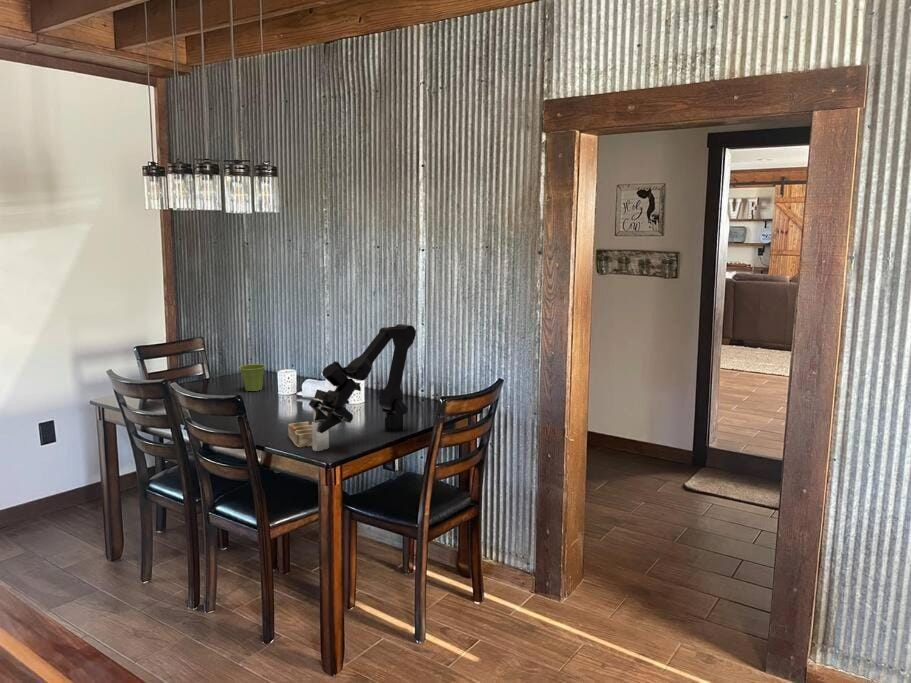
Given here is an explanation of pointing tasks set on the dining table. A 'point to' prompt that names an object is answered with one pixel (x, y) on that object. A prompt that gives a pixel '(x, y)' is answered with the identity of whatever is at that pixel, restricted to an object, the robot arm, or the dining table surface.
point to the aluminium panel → (319, 436)
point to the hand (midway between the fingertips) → (316, 431)
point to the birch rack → (300, 434)
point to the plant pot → (252, 376)
